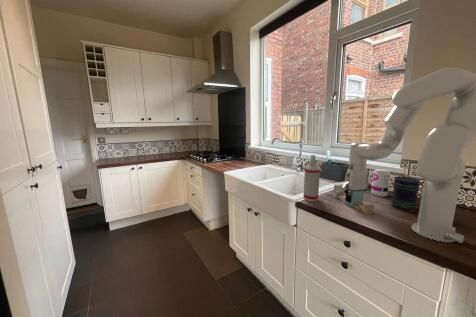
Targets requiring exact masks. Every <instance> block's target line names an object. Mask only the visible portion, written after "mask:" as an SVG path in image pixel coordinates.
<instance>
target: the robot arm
mask: <svg viewBox="0 0 476 317" xmlns="http://www.w3.org/2000/svg"><path fill="white" fill-rule="evenodd" d="M442 96H447V97H448V96H449V97H451V98H452V102H451V104H450V106H449V108H448V109H447V113H446V116H445V119H444V121H443V123H441V124H438V125H437V126H435V127H434V128H432V129H431V130H430V131H429V132H428V134H427V135H426V138H425V141H424V143H423V146H422V148H421V152H420V155H419V158H418V161H417V164H416V171H417V174H418V175H419V177H420V178H421V179H423V180H424V182H423V185H422V191H421V192H422V193H421V197H420V203H419V204H420V205H419V210H418V216H417V217H418V218H417V222H415V223H412V224H411V227H410V228H411V231H413V232H414V233H415V232H416V233H415V234H417V235H419V236H422V237H423V238H426V239H428V238H429V239H428V240H432V239H433V240H432V241H435V240H436V242H440V241H441V242H442V243H453V242H458V243H460V244H462V243H464V238H465V235H463V234H460V233H457V232H456V227H454V226H453V224H454V218H455V214H456V208H457V203H458V198H459V193H460V188H461V184H462V182H463V179H464V175H465V172H466V164H465V161H464V160H463V158H462V157H460V156H461V155H462V152H463V150H464V149H467V148H468V147H470V146H471V145H473V143H474V141H475V140H476V139H475V138H476V73H475V72H472V71H469V70H466V69H462V68H460V67H444V68H441V69H438V70H435V71H433V72H431V73H428V74H427V75H424V76H422V77H419V78H417V79H415V80H413V81H409V82H408V83H406V84H403V85H402V86H400V87H399V88H397V89H396V90H395V91H394V93H393V95H392V97H391V101H392V102H391V103H392V105H393V107H392V109H391V110H390V112H389V113H388V115H387V116H386V117H385V119H384V124H385V128H386V130H385V133H384V135H383V136H382V138H381V139H380V140H379V142H375V143H367V142H362V141H361V142H359V141H356V142H352V143H351V144H350V148H349V157H348V165H347V171H346V173H345V179H344V184H342V185H343V186H342V187H341V188H342V190H343V193H344V194H345V196H346V198H345V200H346V201H347V202H349V203H351V192H352V190H363V191H364V193H365V192H366V191H367V189H368V188H369V186H370V185H369V184H368V183H369V182H368V180H369V179H368V170H367V161H368V160H369V161H377V160H381V159H385V158H389V157H390V156H391V155H392V154H393V153H394V151H395V150H396V149H397V148H398V146H399V145H400V143H401V142H402V140H403V138H404V135H405V133H406V130H407V128H408V127H409V126H410V125H411V123H412V122H413V120H414V119H415V118H416V116H417V115H418V114H419V113H420V112H421V110H422V109H423V108H424V106H425V105H426V104H427V102H428V101H430V100H432V99H436V98H439V97H442ZM348 190H349V192H348Z"/></svg>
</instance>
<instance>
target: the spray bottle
mask: <svg viewBox="0 0 476 317" xmlns="http://www.w3.org/2000/svg"><path fill="white" fill-rule="evenodd" d="M320 175H321V167H320V166H318V165H317V161H316V155H314V154H311V155H310V160H309V164H308V165H306V166H304V178H303V179H304V180H303V181H304V183H303V197H302V198H303V200H305V201H308V202H318V200H319V193H320V192H319V189H320Z"/></svg>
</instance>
